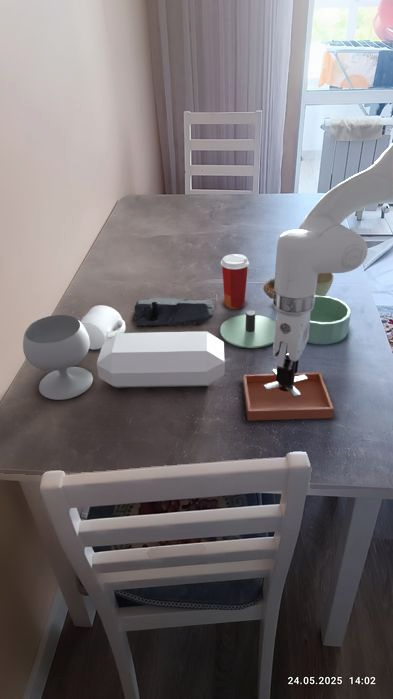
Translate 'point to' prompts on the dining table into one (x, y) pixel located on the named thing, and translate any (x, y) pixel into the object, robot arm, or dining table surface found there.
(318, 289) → the flower pot
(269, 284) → the acorn
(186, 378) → the crystal
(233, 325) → the lid
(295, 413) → the tray
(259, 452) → the dining table surface
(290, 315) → the robot arm
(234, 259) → the paper cup
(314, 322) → the bowl
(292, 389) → the blade
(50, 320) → the chalice
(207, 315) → the dark slate chunk
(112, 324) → the mug
